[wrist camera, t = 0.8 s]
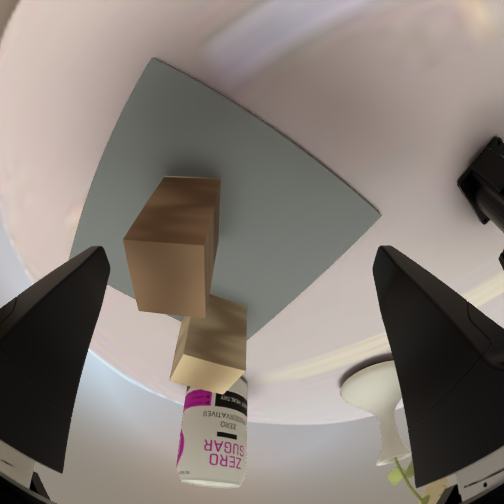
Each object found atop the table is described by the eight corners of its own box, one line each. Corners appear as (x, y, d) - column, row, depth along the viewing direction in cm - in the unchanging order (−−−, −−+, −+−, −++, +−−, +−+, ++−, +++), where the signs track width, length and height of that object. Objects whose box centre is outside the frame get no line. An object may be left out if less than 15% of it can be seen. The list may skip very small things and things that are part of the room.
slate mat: (379, 212, 22) (381, 215, 21) (239, 342, 31) (239, 346, 31) (154, 57, 15) (152, 57, 14) (71, 258, 25) (68, 262, 24)
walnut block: (221, 178, 20) (204, 245, 13) (218, 238, 23) (205, 318, 16) (165, 176, 19) (122, 239, 13) (168, 235, 22) (138, 310, 16)
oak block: (247, 306, 27) (245, 371, 21) (227, 335, 30) (223, 394, 24) (196, 289, 26) (183, 354, 20) (181, 321, 28) (169, 380, 23)
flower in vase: (385, 391, 41) (410, 525, 21) (325, 392, 40) (341, 545, 19) (432, 345, 33) (478, 505, 13) (368, 343, 32) (407, 542, 12)
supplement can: (192, 392, 40) (182, 484, 28) (184, 365, 35) (168, 475, 23) (246, 395, 40) (245, 489, 28) (248, 369, 35) (246, 482, 23)
